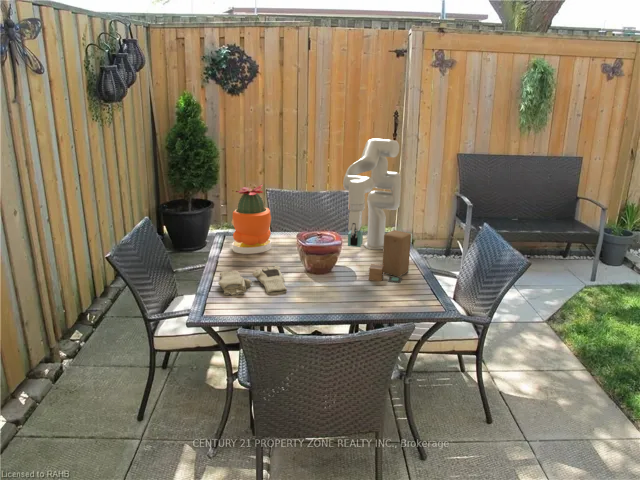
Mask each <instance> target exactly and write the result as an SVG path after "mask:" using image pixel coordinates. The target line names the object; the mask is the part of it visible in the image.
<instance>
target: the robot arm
mask: <svg viewBox="0 0 640 480" xmlns="http://www.w3.org/2000/svg"><path fill="white" fill-rule="evenodd" d="M399 152H400V143H399V142H398V141H397V140H394V139H389V138H387V139H385V138H384V139H383V138H371V139H368V140H367V141H366V143H365V145H364V148H363V150H362V154H361V155H360V156H361V157H360V158H359V159H358V160H356V161H355V162H353V163H352V164H351V165H349V166H348V168H347V169H346V172H345V174H344V177H343V182H342V185H343V189H344V190H346V191H348V204H347V209H348V211H349V215H348V225H347V226H348V227H347V228H348V229H347V230H348V232H350V231H351V243H350V245H354V246H357V241H358V237H357V232H358V231H361V228H362V225H363V211H364V210H365V203H366V201H365V199H366V194H367V206H368V207H367V211H368V213H367V215H368V216H367V220H368V221H367V238H366V239H367V240H366V241H365V242H364V244H363V247H364V248H366V249H368V250H374V251H376V250H377V251H379V250H383V246H384V235H385V234H386V219H387V218H386V217H387V216H386V213H385V211H384V210H393V211H395V210H398V209H399V208H400V202H401V191H402V187H401V186H402V176H401V174H400V173H399V172H397V171H389V170H388V167H389V161H388V158H396V157H398V155H399ZM367 172H371V173H370V174H371V177H370V176H364V175H360V174H362V173H367ZM374 188H375V189H381V190H373V189H374ZM384 190H385V191H384ZM386 190H390V191H386ZM355 230H356V231H355ZM355 232H356V234H355Z"/></svg>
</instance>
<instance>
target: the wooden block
mask: <svg viewBox="0 0 640 480" xmlns="http://www.w3.org/2000/svg"><path fill="white" fill-rule="evenodd" d="M411 240H412V234H411V233H410V232H405V231H400V230H397V229H393V230H390V231H389V232H385V235H384V246H383V249H382V264H381V265H384V270H383V274H387V275H391V276H393V277H400V278H401V277H402V276H403V275H405V274H406V273H408V272H409V268H410V267H409V266H410V255H411V254H410V252H411V242H412V241H411Z"/></svg>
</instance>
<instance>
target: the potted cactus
mask: <svg viewBox="0 0 640 480" xmlns="http://www.w3.org/2000/svg"><path fill="white" fill-rule="evenodd" d="M263 186H264V184H260V185H258V186H256V187H255V188H254V187H253V186H251V187H250V186H243V187H239V189H240V190H235V193H239V194H240V196H239V199H238V200H237V205H236V207H237V208H236V209H235V210H234V211H232V220H231V225H232V226H233V227H234V229H235V230H234V232H233V234H232V237H233V240H234V241H233V242H232V244H231V245H232V246H231V247H232V251H233V252H234V253H238V254H244V255H247V254H259V253H260V254H261V253H264V252H267V251H269V250H271V249H272V240H271V239H270V237H271V236H272V233H271V229H270V228H271V224H272V223H271V221H272V215H271V214H272V213H271V210H270V208H269V207H265V201H264V199H263V197H262V194H263V193H264V191H263V190H262V187H263Z"/></svg>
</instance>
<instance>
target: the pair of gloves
mask: <svg viewBox="0 0 640 480" xmlns="http://www.w3.org/2000/svg"><path fill="white" fill-rule="evenodd" d="M219 275H220V278H221V279H220V280H219V281H218V286H219V287H221V288H222V291H223V295H226V296H229V295H231V296H232V297H236V296H238V295H242V294H244V293H247V291H248V290H247V288H250V287H251V285H252V284H253V281H252V280H251V279H249V278H245V277H243V276H242V275H241V274H240V272H239V271H238V270H233V271H230V270H229V271H228V270H226V271H224V270H223V271H221V272H219ZM252 275H253V277H254V278H256V279H257V281H259V282H260V284H262V285H263V286H264V288H265V292H266V294H268V295H273V294H274V295H275V294H282V293H283V294H284V293H287V292H288V288H287V287H286V286H285V278H284V276H283V274H282V272H281V265H275V266H273V265H267V266H266V268H261V269H255V270H254V271H253V273H252Z"/></svg>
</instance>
